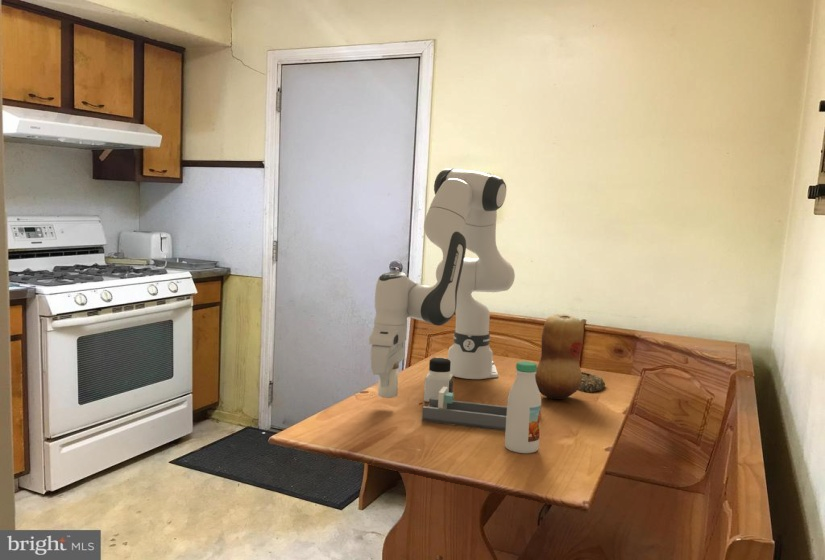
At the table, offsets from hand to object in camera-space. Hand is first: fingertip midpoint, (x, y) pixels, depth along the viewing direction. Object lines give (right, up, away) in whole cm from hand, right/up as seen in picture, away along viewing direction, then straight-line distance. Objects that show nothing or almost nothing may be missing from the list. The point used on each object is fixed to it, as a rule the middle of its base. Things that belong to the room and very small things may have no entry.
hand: (388, 383), depth 173 cm
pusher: (+15, -7, -6) cm, 18 cm away
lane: (+22, -9, -7) cm, 24 cm away
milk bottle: (+32, -11, -25) cm, 42 cm away
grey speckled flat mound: (+61, -7, +33) cm, 70 cm away
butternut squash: (+50, -7, +18) cm, 53 cm away
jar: (0, -3, 0) cm, 3 cm away
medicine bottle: (+14, -7, +11) cm, 19 cm away
